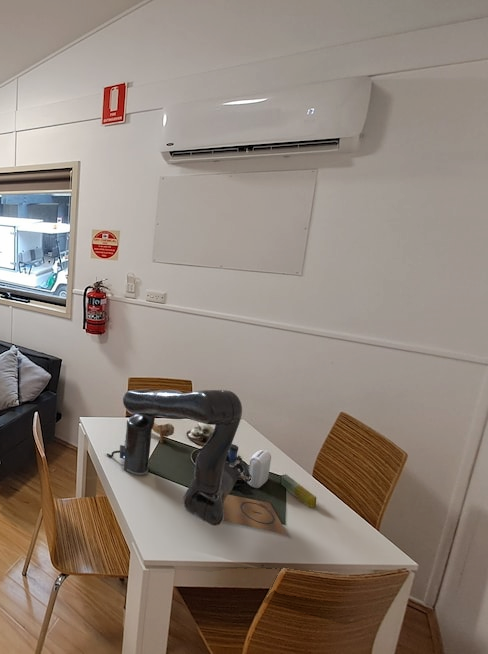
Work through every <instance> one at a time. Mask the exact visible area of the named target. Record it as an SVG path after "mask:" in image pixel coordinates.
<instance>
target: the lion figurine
mask: <svg viewBox="0 0 488 654" xmlns="http://www.w3.org/2000/svg"><path fill="white" fill-rule="evenodd" d="M152 432H154V433H156V434H157V435H159V442H160V443H161V444H163V443H164V441H165V440H166V439H165V438H167V437H170V436H172V435H173V434H174V433H175V426H174V425H173V424H172V423H165V424H157V423H156V422H154V426H153V428H152ZM164 437H165V438H164Z"/></svg>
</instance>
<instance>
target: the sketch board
mask: <svg viewBox="0 0 488 654" xmlns="http://www.w3.org/2000/svg"><path fill="white" fill-rule="evenodd" d="M246 496H248V497H249V498H247V497H242V496H238V495H233V494H228V495H227V497H226V499H225V501H224V519H223V522H226V523H230V524H234V525H240V526H243V527H249V528H252V529H253V528H254V529H258V530H262V531H268V532H271V533H275V534H280V535H284V536H288V535H289V534H288V532H287V530H286V529H285V527H284V525H283V523H282V522H281V520H280V518H279V516H278V515H277V513H276V511H275V509H274V507H273V506H272V504H271V503H270V502H268V501H262V500H257V499H254V498H252V497H251V496H250V495H249V494H246ZM243 502H253V503H257V504H259V505H261V506H263V507H265V508H266V509H268V510H269V511H270V512H271V513H272V514H273V516H274V518H275V520H274V523H271V524H263V523H269V522H272V521H273V517H272V515H271V513H270V512H269V511H267V510H266V509H265V508H263V507H261V506H259V505H257V504H253V503H244V504H243V505H242V509H243V511H244V513H246V514H247V515H248V516H249V517H250V518H252V519H254V520H256V521H258V522H263V523H258V522H256V521H254V520H252V519H250V518H249V517H248V516H246V515H245V514H244V513H243V512H242V510H241V508H240V506H241V504H242V503H243Z"/></svg>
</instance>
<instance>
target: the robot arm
mask: <svg viewBox="0 0 488 654" xmlns="http://www.w3.org/2000/svg"><path fill="white" fill-rule="evenodd" d="M122 403H123V407H124V408H125V410H126V412H128V413H129V414H131V416H130V417H128V418H127V420H126V426H125V427H126V428H125V439H124V442H123V443H124V445H122V444H119V450H114V451H112V452H111V454H110V453H106V456H107V457H109V458H112V457H114V454H119V459H122V466H123V471H126V472H128V473H130V474H132V475H135V476H145V475H147V474H148V473H149V465H150V461H151V460H150V452H151V443H152V442H151V441H152V432H153V429H152V428H153V426H154V423H155V420H156V417H159V418H164V419H170V420H184V419H187V420H190V421H191V420H192V421H194V422H198V423H204V424H209V425H210V426H212V425H213V426H214V427H213V429H214V431H213V433H212V435H211V436H210V438H209V439H208V441H207V442H206V443H205V445H204V446H203V445H202V447H201V449H200V450H199V452H198V453H197V455H196V458H195V461H194V462H195V463H194V468H193V475H192V479H191V483H190V484H189V487H188V488H187V490H186V492H185V493H184V495H183V496H182V507H183V509H184V511H185V512H187V513H188V514H189V515H191V516H193V517H195V518H196V519H198V520H200V521H202V522H204V523H205V524H207V525H210V526H212V527H218V526H220V525H221V524H222V523H223V522H224V521H223V519H224V501H225V499H226V497H227V495H230V493H231V491H233V489H234V486H235V485H236V483H237V481H238V480H240V479H244V481H245V482H246V483H247V482H249V479H250V473H249V468H248V467H247V465H246V464H245V463H243V458H242V457H241V455H238V454H237V459H236V461H235V462H234V461H233V462H232V463H231V464H230V463H228V455H229V449H230V447H231V444H233V441H234V438H235V436H236V433H237V431H238V428H239V425H240V423H241V420H242V416H243V405H242V402H241V399H240V398H239V396H238V395H237V394H236V393H234V392H233V391H232V390H228V389H202V390H196V391H191V392H182V391H181V390H177V389H158V390H151V389H149V388H142V389H130V390H127V391H126V392H125V393H124V395H123V398H122Z"/></svg>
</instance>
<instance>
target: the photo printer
mask: <svg viewBox="0 0 488 654" xmlns="http://www.w3.org/2000/svg"><path fill="white" fill-rule="evenodd" d="M271 461H272V455H271V453H270V452H269V451H268V450H266V449H260V450H258V451H256V452H255V453H253V455H252V456H251V457H250V459H249V466H248V471H249V473H250V475H251V476H252V477H251V480H250V481H249V482H247V481H246V483H247V484H248V485H249V486H250V487H252V488H255V489H259V488H261V487H262V486H263V485H264V484H266V482H267V481H268V480H269V477H270V476H269V475H270V468H271Z"/></svg>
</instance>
